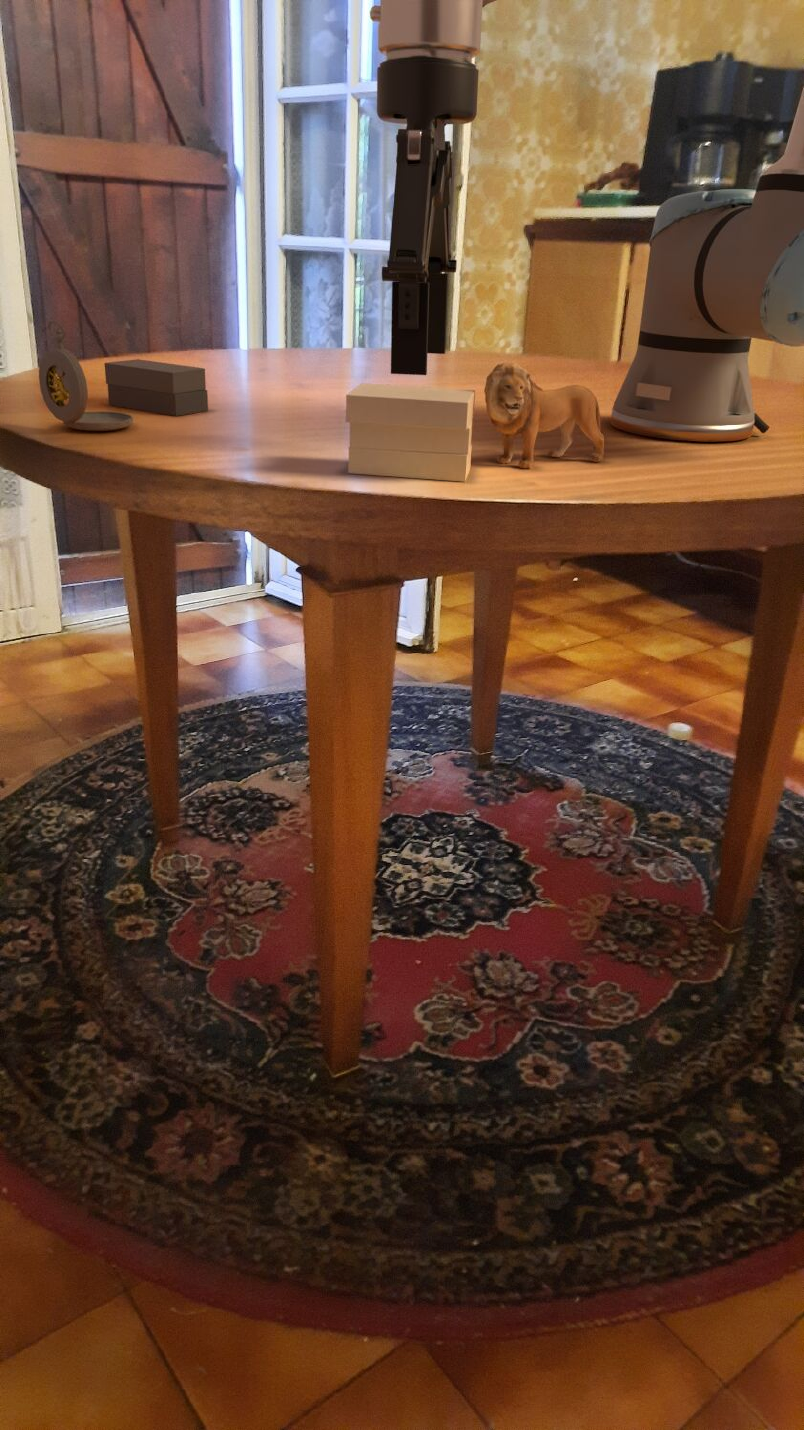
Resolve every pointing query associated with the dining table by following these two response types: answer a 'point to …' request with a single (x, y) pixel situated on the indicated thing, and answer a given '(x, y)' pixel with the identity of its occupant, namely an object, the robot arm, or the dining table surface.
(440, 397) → the beige flat block
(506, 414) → the lion figurine
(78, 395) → the pocket watch
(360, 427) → the beige cardboard block
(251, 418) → the dining table surface
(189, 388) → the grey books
